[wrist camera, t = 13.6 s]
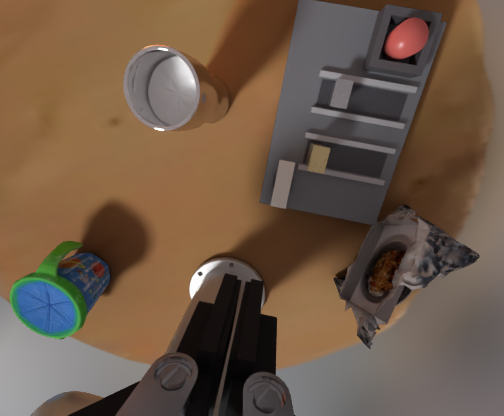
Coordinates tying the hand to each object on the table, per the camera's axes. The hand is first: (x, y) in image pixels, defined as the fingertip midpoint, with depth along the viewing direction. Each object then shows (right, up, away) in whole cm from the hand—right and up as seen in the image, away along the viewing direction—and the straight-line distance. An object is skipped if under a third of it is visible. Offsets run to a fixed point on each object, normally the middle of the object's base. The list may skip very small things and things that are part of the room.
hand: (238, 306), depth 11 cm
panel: (+12, +15, +24) cm, 31 cm away
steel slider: (+11, +17, +21) cm, 29 cm away
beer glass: (-5, +19, +25) cm, 32 cm away
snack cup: (-27, -7, +36) cm, 46 cm away
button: (+16, +22, +18) cm, 33 cm away
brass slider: (+8, +11, +23) cm, 27 cm away
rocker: (+4, +7, +24) cm, 25 cm away
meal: (+19, -1, +30) cm, 35 cm away
